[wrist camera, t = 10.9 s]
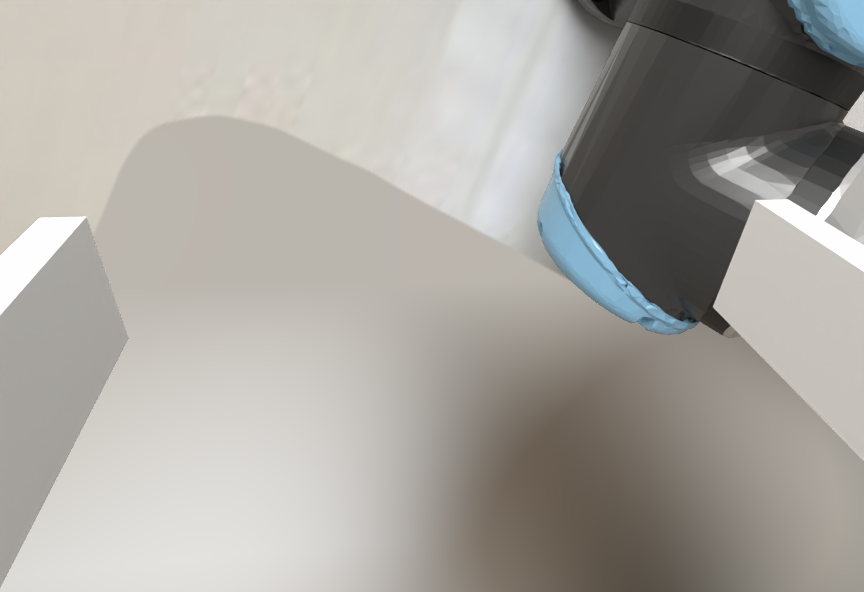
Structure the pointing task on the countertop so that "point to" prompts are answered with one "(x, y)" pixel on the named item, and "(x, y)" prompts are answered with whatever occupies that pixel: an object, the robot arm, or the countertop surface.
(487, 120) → the countertop surface
